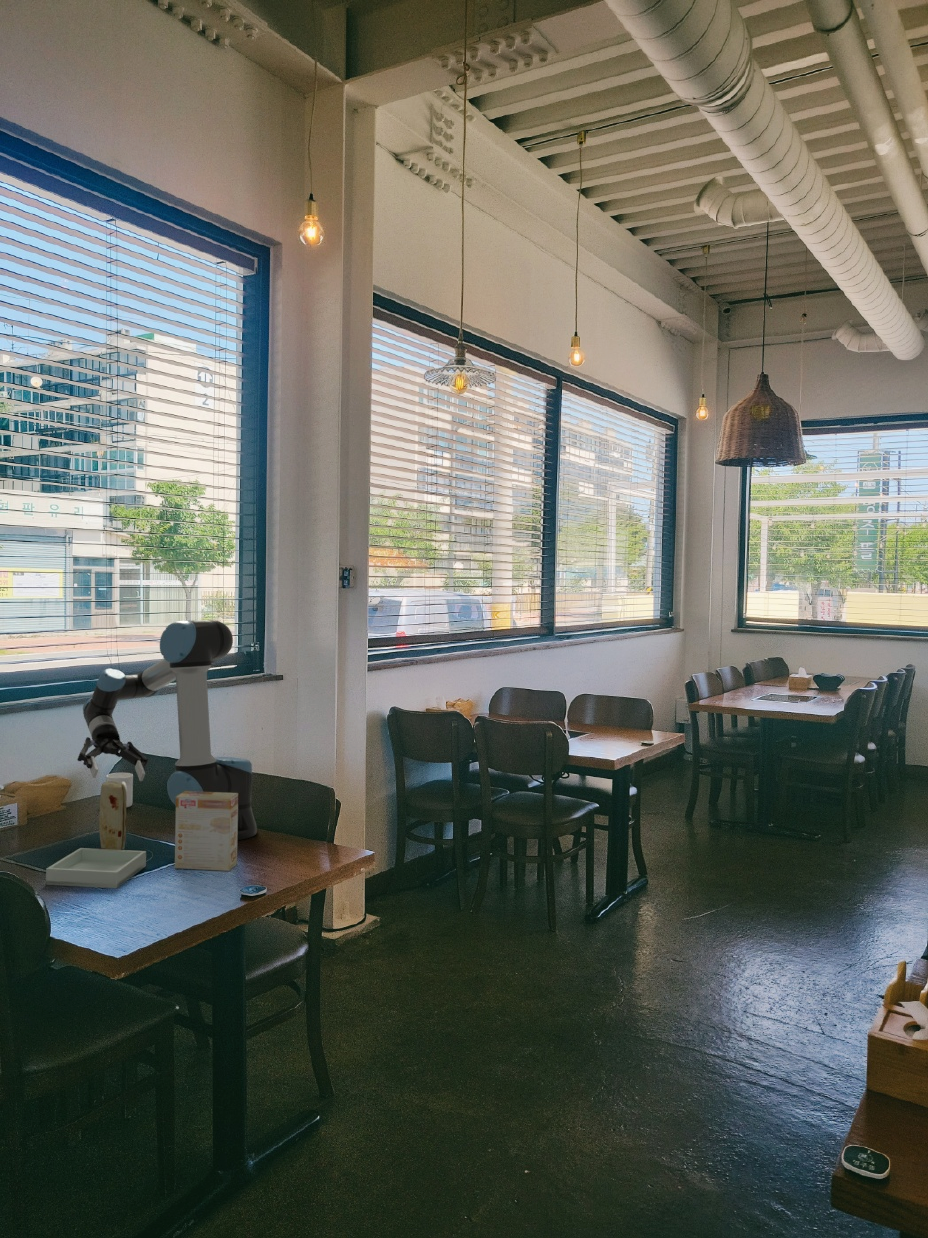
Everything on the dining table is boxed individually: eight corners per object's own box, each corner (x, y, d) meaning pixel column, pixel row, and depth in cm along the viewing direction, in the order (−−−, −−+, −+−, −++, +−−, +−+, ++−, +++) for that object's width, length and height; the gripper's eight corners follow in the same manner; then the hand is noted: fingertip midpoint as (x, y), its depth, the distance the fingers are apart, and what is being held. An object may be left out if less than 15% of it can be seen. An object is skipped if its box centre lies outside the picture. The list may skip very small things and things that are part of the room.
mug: (138, 810, 306) (138, 778, 306) (111, 812, 302) (112, 781, 301) (128, 802, 316) (129, 771, 316) (103, 804, 312) (103, 774, 311)
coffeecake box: (237, 863, 253) (239, 792, 253) (229, 872, 246) (230, 798, 245) (183, 861, 254) (184, 790, 253) (173, 869, 247) (175, 796, 246)
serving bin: (145, 866, 249) (146, 851, 249) (116, 888, 231) (116, 872, 231) (80, 862, 250) (80, 848, 250) (45, 884, 232) (46, 868, 232)
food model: (93, 850, 261) (94, 779, 260) (118, 847, 265) (119, 777, 264) (105, 859, 253) (106, 786, 252) (130, 855, 257) (131, 783, 256)
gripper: (140, 747, 293) (157, 789, 277) (58, 739, 277) (71, 783, 262) (148, 727, 291) (165, 768, 275) (66, 718, 275) (79, 761, 260)
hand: (119, 775), depth 268 cm, fingers open, 13 cm apart
